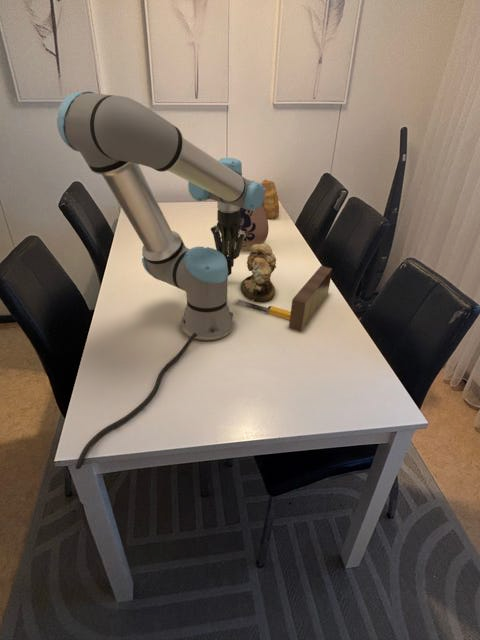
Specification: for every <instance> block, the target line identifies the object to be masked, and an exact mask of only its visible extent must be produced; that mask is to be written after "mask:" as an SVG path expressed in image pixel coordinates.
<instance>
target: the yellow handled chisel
mask: <svg viewBox="0 0 480 640" xmlns="http://www.w3.org/2000/svg"><path fill="white" fill-rule="evenodd" d="M235 305H237V306H240V307H244V308H246V309H250V310H254V311H257V312H259V313H262V314H268V315H271V316H274V317H277V318H281V319H284V320H287V321H290V315H291V310H286V309H283V308H279V307H276V306H274V305H269V306H268V307H265V306H261V305H258V304H256V303H255V304H254V303H252V302H248V301H245V300H242V299H238V300H237V301H236V302H235Z"/></svg>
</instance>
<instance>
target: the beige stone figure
mask: <svg viewBox="0 0 480 640" xmlns="http://www.w3.org/2000/svg"><path fill="white" fill-rule="evenodd" d="M246 259H247V260H246V266H247V270H248V271H249V272H251V275H249V276H247V277H246V278H244V279H243V280H242V282H241V284H240V291H241V294H242V295H243V296H244V297H245V298H246V299H247V300H249V301H252V302H255V303H268V302H271V301H272V300H273V299H274V297H275V296H276V288H275V286H274V284H273V282H272V281H271V276H272V274H273V272H274V271H275V269H276V268H277V265H276V264H277V257H276V255H275V254H274V252H273V249H272V247H271V246H270V245H268V244H266V243H263V244H259V245H258V244H255V245H253V246H252V247H251V250H250V252H249V255H248V256H247V258H246Z"/></svg>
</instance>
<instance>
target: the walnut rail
mask: <svg viewBox="0 0 480 640" xmlns="http://www.w3.org/2000/svg"><path fill="white" fill-rule="evenodd" d="M332 273H333V268H332V267H329V266H324V265H320V266H319V268H317V270H316V271H315V272H314V273H313V274H312V275H311V277H310V278H309V279H308V280H307V281H306V283H305V284H304V285H303V286H302V287H301V288H300V290H299V291H298V292H297V293H296V294H295V296H294V297H293V298H292V300H291V307H290V312H291V315H290V320H289V324H288V329H292V330H295V331H298V332H302V331H303V330H304V328H305V327H306V326H307V324H308V323H309V321H310V320H311V319H312V317H313V316H314V314H315V313H316V312H317V310H318V309H319V307H321V305H322V304H323V302H324V301H325V299H326V298H327V296H328V295H329V291H330V285H331V279H332Z"/></svg>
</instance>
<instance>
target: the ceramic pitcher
mask: <svg viewBox="0 0 480 640" xmlns="http://www.w3.org/2000/svg"><path fill="white" fill-rule="evenodd" d="M259 183H260V184H262V182H259ZM262 186H263V188H264V197H265V190H266V188H265V187H264V185H263V184H262ZM240 227H241V230H242V231H243V232H246V233H247V235H246V237H245V238H244V240H243V244H242V247H241V250H244V251H251V247H252V246H253V245H255V244H258V245H259V244H265V241H266V240H267V238H268V235H269V229H270V228H269V221H268V218H267V215H266V211H265V207H264V199H263V202H262V204H261V206H260V207H259V208H258V209H257V210H249V209H244V208H241V207H240ZM238 238H239V237H238V234H237V235H236V238H235V247H236V243H237V240H238Z"/></svg>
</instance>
